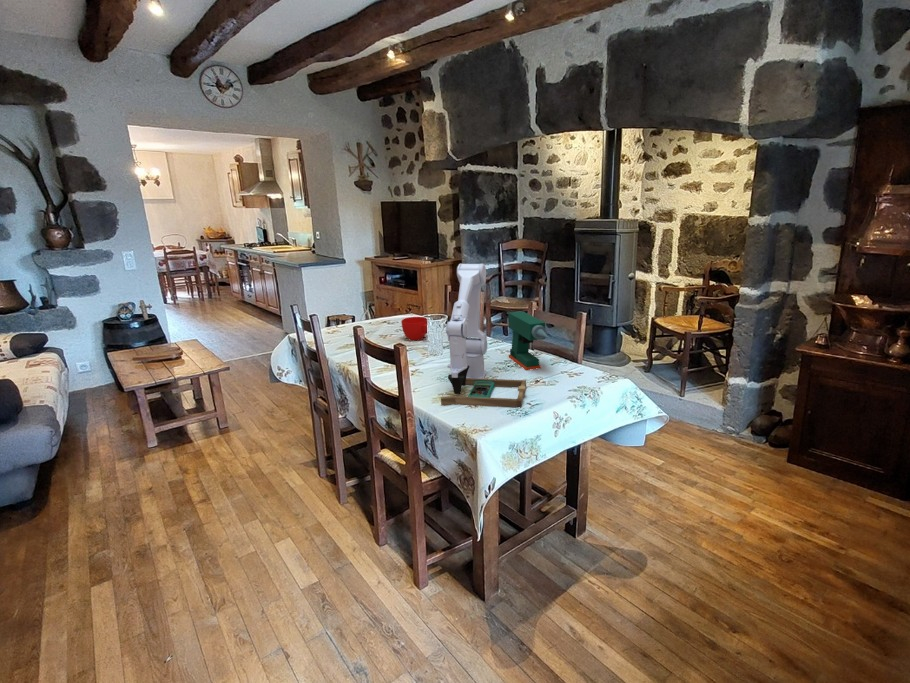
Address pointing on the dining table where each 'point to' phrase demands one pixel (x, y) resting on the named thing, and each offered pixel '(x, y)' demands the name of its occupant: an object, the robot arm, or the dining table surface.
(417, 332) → the ceramic cup
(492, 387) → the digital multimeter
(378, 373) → the dining table surface
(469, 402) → the pocket
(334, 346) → the dining table surface
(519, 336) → the power tool
